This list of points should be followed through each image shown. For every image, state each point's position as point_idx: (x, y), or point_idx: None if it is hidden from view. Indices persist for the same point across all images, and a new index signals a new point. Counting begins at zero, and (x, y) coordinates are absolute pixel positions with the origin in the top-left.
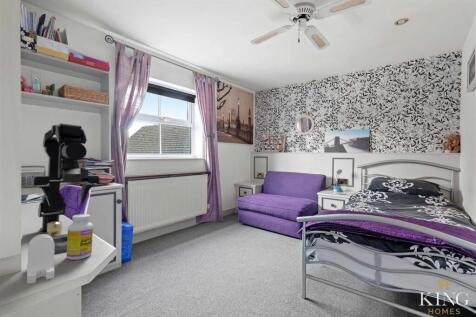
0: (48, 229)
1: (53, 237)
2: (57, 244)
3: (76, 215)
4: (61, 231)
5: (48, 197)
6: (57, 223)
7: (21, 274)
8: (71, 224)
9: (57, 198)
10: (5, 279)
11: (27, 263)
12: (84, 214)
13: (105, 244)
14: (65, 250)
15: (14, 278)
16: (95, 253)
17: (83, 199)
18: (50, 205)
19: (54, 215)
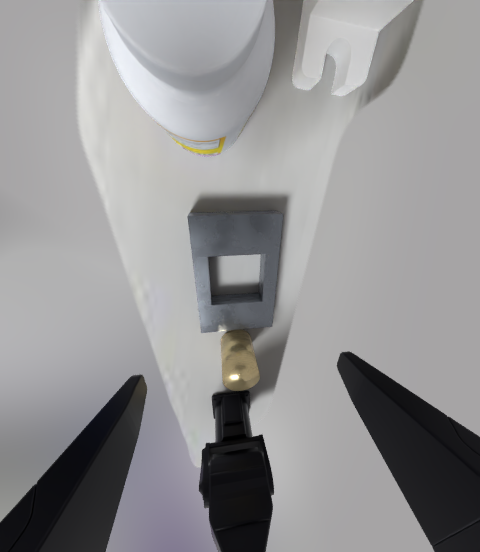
0: (255, 357)
1: (246, 316)
2: (252, 238)
3: (227, 9)
4: (221, 353)
5: (430, 410)
6: (236, 370)
7: None
8: (258, 38)
9: (232, 515)
10: (408, 45)
11: (366, 76)
12: (138, 15)
13: (104, 197)
14: (231, 212)
15: (394, 29)
16: None
17: (114, 408)
18: (349, 353)
19: (229, 440)
